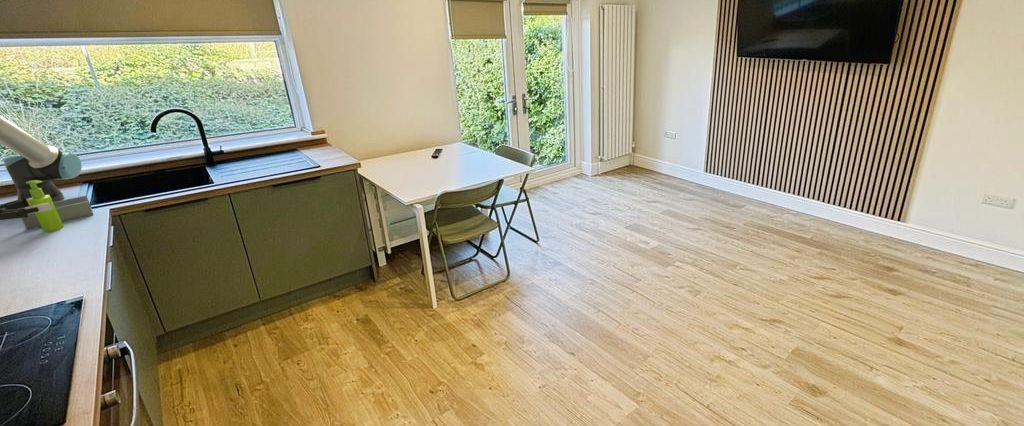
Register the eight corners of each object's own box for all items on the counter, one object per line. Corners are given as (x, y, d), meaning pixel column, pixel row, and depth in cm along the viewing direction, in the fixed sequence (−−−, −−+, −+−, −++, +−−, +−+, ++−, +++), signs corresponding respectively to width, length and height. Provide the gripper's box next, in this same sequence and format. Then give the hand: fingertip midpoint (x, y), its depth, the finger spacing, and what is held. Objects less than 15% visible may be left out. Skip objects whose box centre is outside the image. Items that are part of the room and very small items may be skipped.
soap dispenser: (53, 232, 175) (30, 183, 167) (39, 231, 176) (15, 183, 168) (70, 226, 180) (48, 178, 172) (56, 225, 181) (34, 178, 174)
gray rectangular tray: (28, 221, 187) (21, 208, 184) (91, 208, 199) (86, 195, 197) (27, 229, 179) (20, 216, 176) (93, 214, 191) (87, 201, 189)
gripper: (-21, 218, 172) (54, 203, 185) (-30, 237, 155) (54, 219, 168) (-31, 200, 169) (46, 185, 182) (-41, 217, 152) (45, 200, 165)
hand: (50, 201), depth 175 cm, fingers open, 13 cm apart
